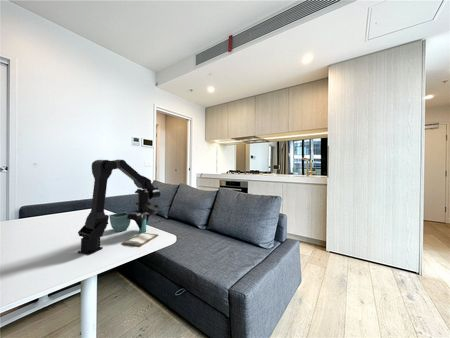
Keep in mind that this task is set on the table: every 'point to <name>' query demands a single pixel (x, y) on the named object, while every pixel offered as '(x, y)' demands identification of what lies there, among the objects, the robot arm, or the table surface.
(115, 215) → the flower pot
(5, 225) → the table surface
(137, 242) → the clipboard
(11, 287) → the table surface
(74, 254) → the table surface
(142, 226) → the teal capped bottle
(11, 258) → the table surface
